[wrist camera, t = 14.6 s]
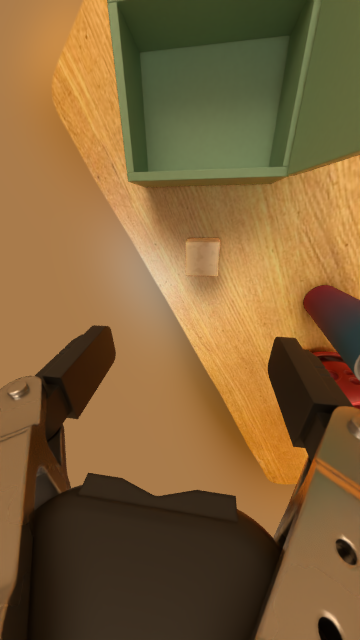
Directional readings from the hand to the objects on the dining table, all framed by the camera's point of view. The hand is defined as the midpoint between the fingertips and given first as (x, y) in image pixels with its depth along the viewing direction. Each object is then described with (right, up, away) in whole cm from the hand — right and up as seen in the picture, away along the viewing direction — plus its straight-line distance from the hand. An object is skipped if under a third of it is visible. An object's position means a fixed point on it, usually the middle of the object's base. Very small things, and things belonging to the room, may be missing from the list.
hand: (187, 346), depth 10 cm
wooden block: (+3, +12, +21) cm, 24 cm away
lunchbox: (+3, +25, +14) cm, 28 cm away
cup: (+22, +5, +22) cm, 32 cm away
